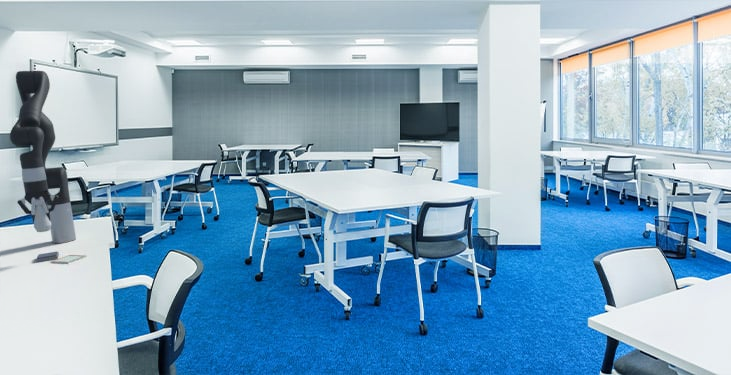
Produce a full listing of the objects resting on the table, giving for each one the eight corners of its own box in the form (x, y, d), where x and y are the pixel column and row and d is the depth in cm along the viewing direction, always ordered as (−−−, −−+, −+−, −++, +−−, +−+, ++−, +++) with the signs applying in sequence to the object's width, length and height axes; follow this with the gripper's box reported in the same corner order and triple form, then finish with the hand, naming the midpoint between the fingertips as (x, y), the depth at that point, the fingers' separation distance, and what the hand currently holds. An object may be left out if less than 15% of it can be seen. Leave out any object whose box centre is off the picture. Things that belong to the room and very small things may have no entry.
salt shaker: (55, 228, 195) (50, 196, 193) (45, 232, 190) (39, 199, 187) (42, 229, 196) (36, 197, 193) (31, 233, 190) (25, 200, 188)
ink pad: (38, 258, 196) (37, 254, 195) (58, 254, 199) (58, 250, 198) (36, 262, 189) (35, 258, 189) (57, 258, 193) (57, 254, 192)
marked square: (50, 262, 188) (50, 261, 188) (69, 256, 196) (69, 254, 196) (68, 263, 185) (67, 262, 185) (86, 256, 193) (86, 255, 193)
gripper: (56, 176, 196) (63, 218, 199) (14, 180, 189) (21, 224, 192) (55, 178, 189) (62, 222, 192) (11, 182, 183) (19, 228, 186)
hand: (42, 222), depth 192 cm, fingers closed on salt shaker, 3 cm apart
